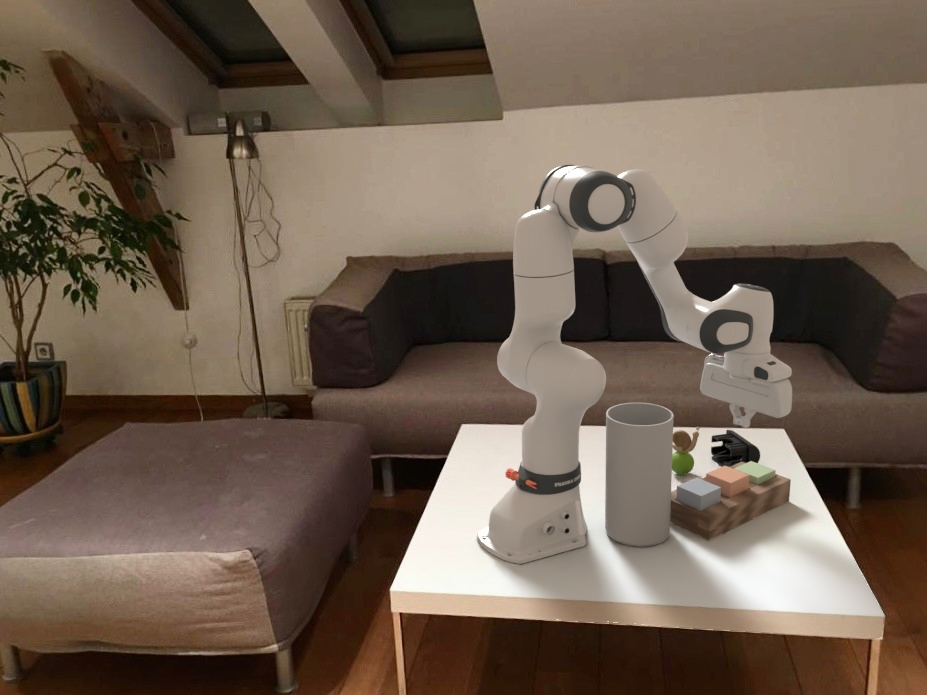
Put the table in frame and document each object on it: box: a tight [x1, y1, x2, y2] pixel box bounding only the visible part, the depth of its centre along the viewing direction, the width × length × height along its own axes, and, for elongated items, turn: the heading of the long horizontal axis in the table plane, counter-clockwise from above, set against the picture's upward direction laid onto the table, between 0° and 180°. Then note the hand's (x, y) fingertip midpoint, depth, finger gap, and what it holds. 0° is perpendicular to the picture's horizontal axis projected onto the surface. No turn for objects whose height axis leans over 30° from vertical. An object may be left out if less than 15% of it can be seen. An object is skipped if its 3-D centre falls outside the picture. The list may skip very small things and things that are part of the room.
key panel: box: [670, 462, 792, 542], centre depth 171 cm, size 26×12×5 cm, turn 125°
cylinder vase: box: [604, 402, 675, 548], centre depth 161 cm, size 12×12×25 cm
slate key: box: [676, 477, 721, 511], centre depth 165 cm, size 6×6×4 cm
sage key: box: [734, 461, 777, 485], centre depth 176 cm, size 6×6×4 cm
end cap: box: [710, 429, 761, 467], centre depth 192 cm, size 10×7×7 cm
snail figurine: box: [672, 426, 701, 476], centre depth 187 cm, size 5×6×12 cm
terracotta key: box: [705, 466, 749, 498], centre depth 170 cm, size 6×6×4 cm
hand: (741, 425), depth 174 cm, fingers closed
